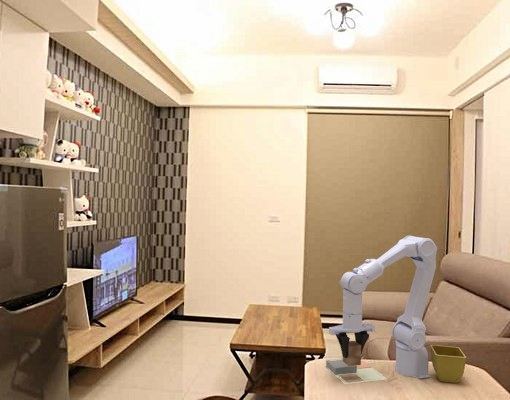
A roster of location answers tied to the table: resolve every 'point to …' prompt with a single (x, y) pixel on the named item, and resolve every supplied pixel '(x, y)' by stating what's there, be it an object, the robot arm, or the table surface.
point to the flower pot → (448, 362)
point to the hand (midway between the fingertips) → (351, 356)
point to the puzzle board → (363, 374)
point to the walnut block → (353, 354)
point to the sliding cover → (340, 366)
